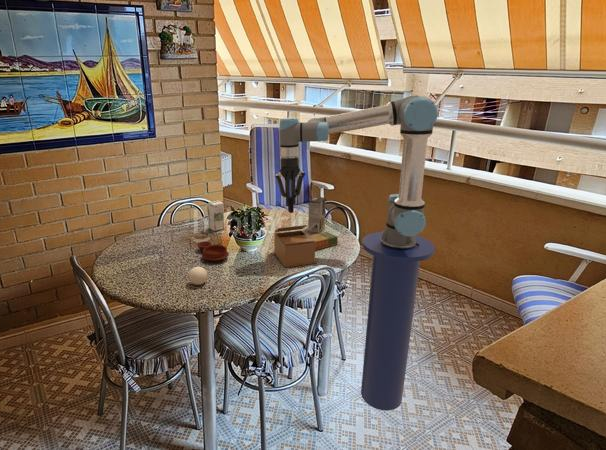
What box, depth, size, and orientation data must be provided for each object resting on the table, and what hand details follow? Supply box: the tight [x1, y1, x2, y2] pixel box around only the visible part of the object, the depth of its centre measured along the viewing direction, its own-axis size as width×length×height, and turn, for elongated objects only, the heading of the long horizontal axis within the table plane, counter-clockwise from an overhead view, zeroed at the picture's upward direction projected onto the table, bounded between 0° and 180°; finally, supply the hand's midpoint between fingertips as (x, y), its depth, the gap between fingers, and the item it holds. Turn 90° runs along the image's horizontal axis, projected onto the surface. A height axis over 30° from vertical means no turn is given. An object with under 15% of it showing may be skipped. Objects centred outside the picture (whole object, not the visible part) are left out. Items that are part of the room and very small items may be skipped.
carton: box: [310, 231, 339, 251], centre depth 189 cm, size 8×16×4 cm, turn 121°
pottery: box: [196, 241, 230, 263], centre depth 180 cm, size 12×20×4 cm, turn 32°
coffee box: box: [307, 195, 327, 234], centre depth 207 cm, size 9×6×16 cm
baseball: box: [188, 266, 209, 286], centre depth 155 cm, size 7×7×7 cm
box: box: [273, 229, 316, 268], centre depth 175 cm, size 15×13×10 cm
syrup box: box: [207, 200, 225, 232], centre depth 210 cm, size 6×6×14 cm
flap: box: [274, 224, 308, 233], centre depth 176 cm, size 7×13×1 cm
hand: (290, 211), depth 174 cm, fingers closed
